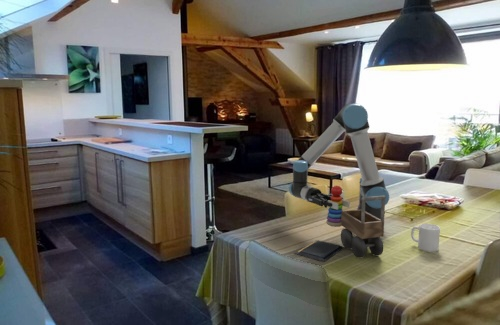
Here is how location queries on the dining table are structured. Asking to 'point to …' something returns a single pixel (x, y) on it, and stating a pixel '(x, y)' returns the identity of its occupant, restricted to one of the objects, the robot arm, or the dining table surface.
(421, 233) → the cup
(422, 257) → the dining table surface
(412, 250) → the dining table surface
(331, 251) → the dark navy book
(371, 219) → the trolley
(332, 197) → the stacking toy
